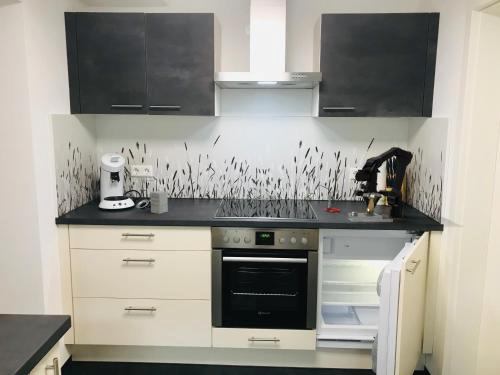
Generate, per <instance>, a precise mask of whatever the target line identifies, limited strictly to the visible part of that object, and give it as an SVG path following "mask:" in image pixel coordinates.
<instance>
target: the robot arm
mask: <svg viewBox="0 0 500 375" xmlns="http://www.w3.org/2000/svg"><path fill="white" fill-rule="evenodd" d="M413 156H414V155H413V153H412V152H411V151H410V150H409V151H408V150H405V149H402V148H401V147H399V146H398V147H397V146H393V147H391V148H390V149H388V150H385V151H384V152H382V153H380V154H379V155H376V156H372V157H369V158H367V159H366V161H365V163H364V164H363V166H362V168H361V169H360V168H359V169H357V171H356V173H355V174H354V178H355V181H356V182H357V183H358V182H359V183H360V185H359V189H355V190H353V195H354V196H356V197H361V198H362V199H363V203H364V205H365V208H366V209H367V207H368V197H369V195H372V196H374V198H375V201H374V209H376V206H377V205H378V203H379V201H380V200H381V199H383V197H386V203H387V206H388V207H389V208H388V214H387V215H389V217H390V218H400V219H401V218H404V216H403V208H405V207H406V202H405V201H404V200H403V196H404V195H403V193H402V187H403V184H404V180H405V176H406V175H405V174H406V171H407V168H408V166H409V165H410V164H411V162H412V160H413ZM393 157H396V163H397V167H396V172H395V177H394V180H393V184H392V188H391V189H390V190H387V189H379V190H377V188H378V186H379V184H378V174H380V173H382V171H381V170H380V168H381V167H382V166H383V164H384V163H385V162H387V161H388V160H390V159H392V158H393ZM361 182H362V183H361ZM364 182H365V183H364Z"/></svg>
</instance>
